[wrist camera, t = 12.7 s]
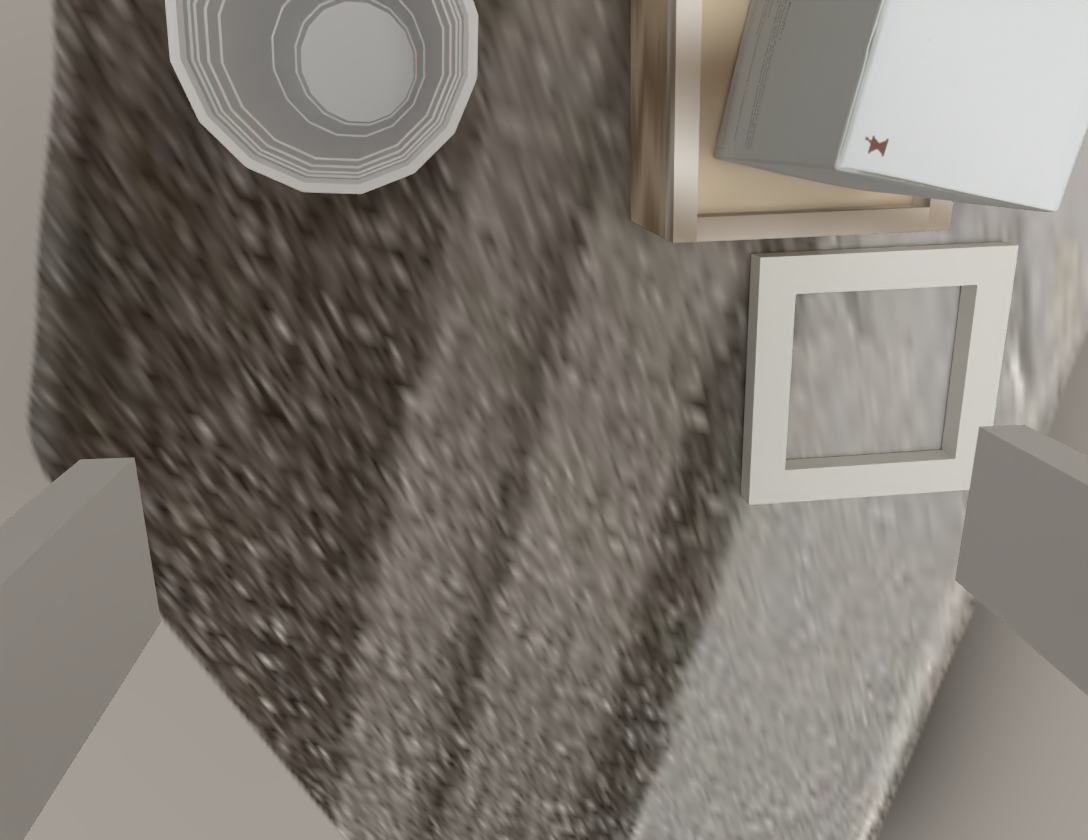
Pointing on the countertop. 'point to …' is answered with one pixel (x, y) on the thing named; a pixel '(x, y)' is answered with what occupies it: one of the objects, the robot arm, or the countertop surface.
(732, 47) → the tray
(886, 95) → the supplement box
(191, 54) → the plastic cup
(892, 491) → the white flat square frame
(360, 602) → the countertop surface
